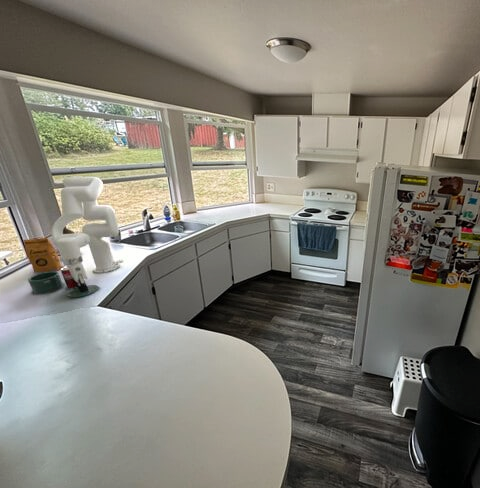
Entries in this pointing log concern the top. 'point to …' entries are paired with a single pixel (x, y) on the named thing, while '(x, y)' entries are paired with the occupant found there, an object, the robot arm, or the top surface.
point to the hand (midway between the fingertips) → (83, 290)
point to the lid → (79, 294)
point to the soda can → (68, 278)
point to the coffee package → (42, 255)
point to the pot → (45, 282)
